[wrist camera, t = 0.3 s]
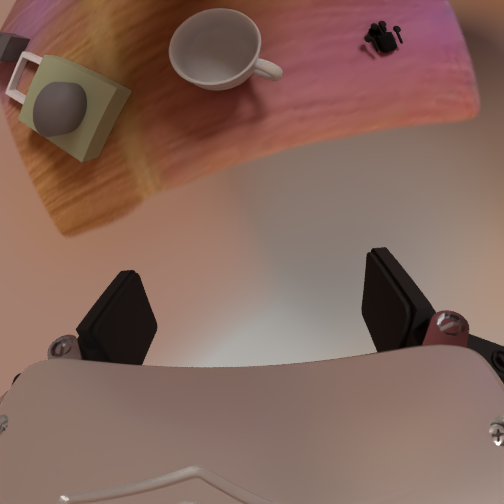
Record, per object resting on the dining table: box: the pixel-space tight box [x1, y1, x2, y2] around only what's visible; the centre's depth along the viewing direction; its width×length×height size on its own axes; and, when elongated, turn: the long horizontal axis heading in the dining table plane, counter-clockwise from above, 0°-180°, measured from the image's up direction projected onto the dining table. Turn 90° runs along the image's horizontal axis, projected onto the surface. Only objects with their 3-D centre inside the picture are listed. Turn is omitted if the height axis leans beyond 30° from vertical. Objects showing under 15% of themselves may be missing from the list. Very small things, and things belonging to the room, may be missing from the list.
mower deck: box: [5, 52, 132, 163], centre depth 29 cm, size 12×29×9 cm, turn 56°
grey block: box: [0, 32, 30, 61], centre depth 24 cm, size 5×8×7 cm, turn 55°
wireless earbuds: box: [365, 21, 403, 53], centre depth 28 cm, size 7×2×5 cm
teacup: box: [169, 8, 283, 90], centre depth 28 cm, size 14×11×8 cm
